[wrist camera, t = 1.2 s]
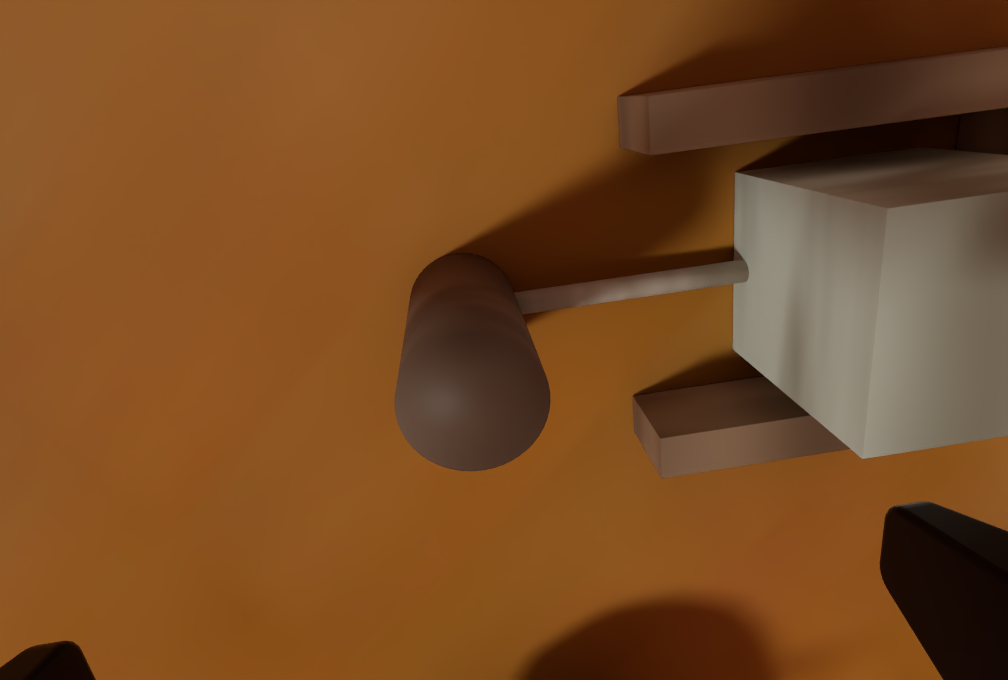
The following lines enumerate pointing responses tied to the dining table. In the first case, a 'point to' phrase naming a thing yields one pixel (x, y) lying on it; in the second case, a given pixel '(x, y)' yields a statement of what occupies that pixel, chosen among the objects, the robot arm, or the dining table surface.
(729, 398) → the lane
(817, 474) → the dining table surface
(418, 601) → the dining table surface
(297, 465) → the dining table surface
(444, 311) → the block with cord
